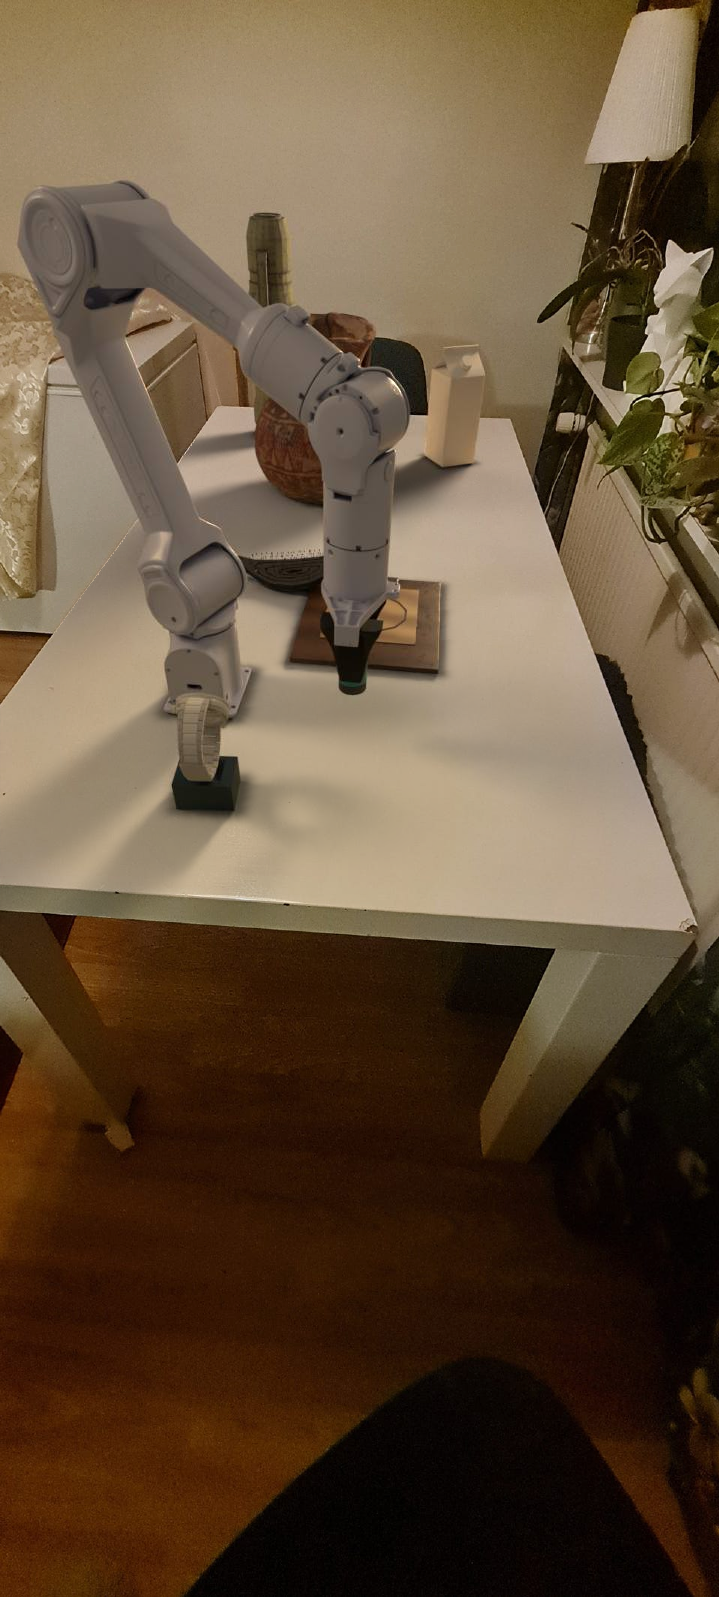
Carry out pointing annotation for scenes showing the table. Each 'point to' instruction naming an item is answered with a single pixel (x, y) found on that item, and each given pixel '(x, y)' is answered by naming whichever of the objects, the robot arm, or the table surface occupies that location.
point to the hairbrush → (286, 571)
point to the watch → (203, 755)
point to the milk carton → (455, 406)
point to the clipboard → (403, 636)
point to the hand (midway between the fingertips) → (352, 670)
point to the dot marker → (353, 686)
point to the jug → (285, 437)
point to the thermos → (268, 269)
